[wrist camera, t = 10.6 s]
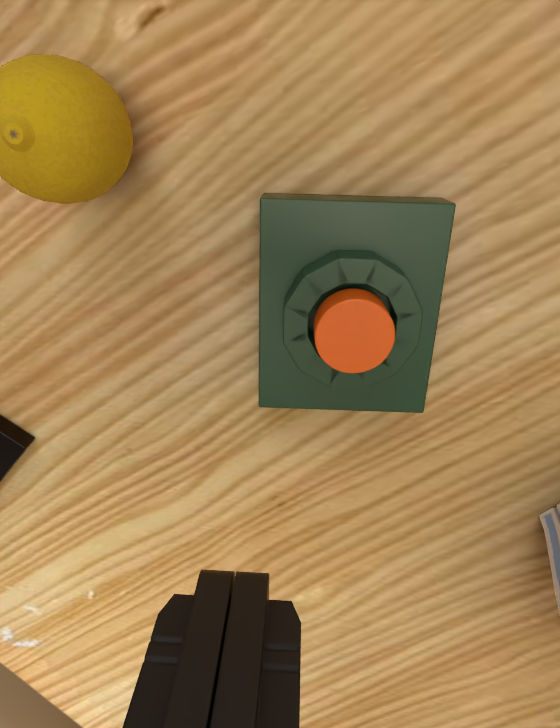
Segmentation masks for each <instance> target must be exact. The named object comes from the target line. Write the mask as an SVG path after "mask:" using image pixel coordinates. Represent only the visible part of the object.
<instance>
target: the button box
mask: <svg viewBox="0 0 560 728" xmlns="http://www.w3.org/2000/svg"><path fill="white" fill-rule="evenodd" d="M455 206H456V205H455V203H452V202H450V201H448V200H446V199H444V198H424V197H387V196H350V195H313V194H276V193H264V194H263V195H262V197H261V199H260V278H259V407H271V408H300V409H328V410H357V411H386V412H415V413H423V411H424V405H425V399H426V392H427V386H428V380H429V373H430V367H431V360H432V354H433V347H434V341H435V335H436V328H437V322H438V315H439V309H440V302H441V296H442V290H443V283H444V277H445V270H446V264H447V258H448V251H449V245H450V238H451V232H452V225H453V219H454V213H455ZM349 288H357V289H363V290H366V291H369V292H371V293H373V294H374V295H376V296H377V297H378V298H379V299H380V300H381V301H382V302H383V303H384V305H385V306H386V308H387V310H388V312H389V314H390V316H391V318H392V321H393V323H394V327H395V341H394V345H393V348H392V350H391V352H390V353H389V355H388V356H387V358H386V359H385V360H384V361H383V362H382V363H381V364H379V365H378V366H377V367H375V368H373V369H371V370H368V371H365V372H361V373H345V372H341V371H338V370H336V369H334V368H332V367H330V366H329V365H328V364H327V363H325V362H324V361H323V359H322V358H321V357H320V355H319V353H318V351H317V349H316V345H315V338H314V318H315V314H316V312H317V310H318V308H319V306H320V305H321V304H322V302H323V301H324V300H325V299H326V298H327V297H329V296H330V295H332V294H333V293H335V292H337V291H340V290H343V289H349Z"/></svg>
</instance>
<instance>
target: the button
mask: <svg viewBox="0 0 560 728" xmlns="http://www.w3.org/2000/svg"><path fill="white" fill-rule="evenodd" d="M314 338H315V345H316V349H317V351H318V353H319V355H320V357H321V358H322V359H323V361H324V362H325V363H327V364H328V365H329V366H330V367H332V368H334V369H336V370H338V371H341V372H345V373H361V372H365V371H368V370H371V369H373V368H375V367H377V366H378V365H379V364H381V363H382V362H383V361H384V360H385V359H386V358H387V356H388V355H389V353H390V352H391V350H392V348H393V345H394V341H395V327H394V323H393V321H392V318H391V316H390V314H389V312H388V310H387V308H386V306H385V305H384V303H383V302H382V301H381V300H380V299H379V298H378V297H377V296H376V295H374V294H373V293H371V292H369V291H366V290H363V289H357V288H349V289H343V290H340V291H337V292H335V293H333V294H332V295H330V296H329V297H327V298H326V299H325V300H324V301H323V302H322V304H321V305H320V306H319V308H318V310H317V312H316V314H315V318H314Z"/></svg>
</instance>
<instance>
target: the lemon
mask: <svg viewBox="0 0 560 728" xmlns="http://www.w3.org/2000/svg"><path fill="white" fill-rule="evenodd" d="M132 147H133V132H132V126H131V120H130V118H129V115H128V113H127V110H126V108H125V105H124V103H123V102H122V100H121V99H120V97H119V96H118V94H117V93H116V91H115V90H114V88H113V87H112V86H111V85H110V84H109V83H108V82H107V81H106V80H105V79H103V78H102V77H101V76H100V75H99V74H98V73H97V72H95V71H93V70H92V69H90V68H88V67H87V66H85V65H83V64H82V63H80V62H78V61H75V60H71V59H68V58H64V57H61V56H57V55H28V56H25V57H22V58H18V59H15V60H12V61H9V62H7V63H6V64H4V65H3V66H1V67H0V176H1V177H2V178H3V179H4V180H5V181H6V182H7V183H9V184H10V185H12V186H13V187H15V188H16V189H17V190H19V191H20V192H22V193H25V194H27V195H30V196H32V197H35V198H37V199H40V200H43V201H49V202H56V203H63V204H69V203H77V202H85V201H88V200H91V199H93V198H95V197H98V196H100V195H102V194H104V193H105V192H107V191H108V190H109V189H110V188H112V187H113V186H114V185H115V184H116V183H117V182H118V181H119V180H120V178H121V177H122V175H123V174H124V172H125V171H126V169H127V167H128V164H129V161H130V158H131V155H132Z"/></svg>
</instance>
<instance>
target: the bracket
mask: <svg viewBox="0 0 560 728" xmlns="http://www.w3.org/2000/svg"><path fill="white" fill-rule="evenodd" d="M34 439H35V438H34V437H33V436H31V435H30V434H28V433H27V432H25V431H24V430H22V429H21V428H19V427H18V426H16V425H14V424H13V423H11V422H10V421H8V420H7V419H5V418H4V417H2V416H1V415H0V482H1V480H2V479H3V478H4V477H5V475H6V474H7V473H8V472H9V470H10V469H11V468H12V467H13V465H14V464H15V463H16V462H17V460H18V459H19V458H20V457H21V455H22V454H23V453H24V452H25V450H26V449H27V448H28V447H29V445H30V444H31V443H32V442H33V440H34Z"/></svg>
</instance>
